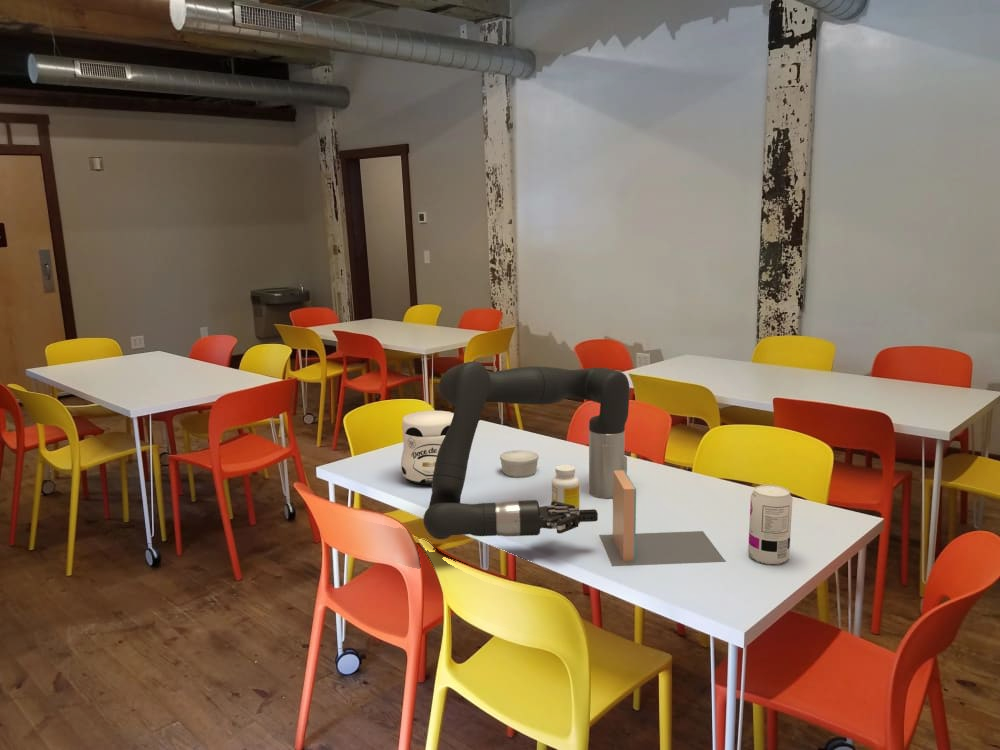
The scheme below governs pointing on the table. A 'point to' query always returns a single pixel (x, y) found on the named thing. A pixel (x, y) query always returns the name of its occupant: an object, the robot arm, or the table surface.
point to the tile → (624, 515)
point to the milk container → (423, 443)
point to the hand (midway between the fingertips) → (596, 515)
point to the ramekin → (519, 463)
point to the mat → (665, 549)
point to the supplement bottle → (565, 486)
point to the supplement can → (770, 524)
